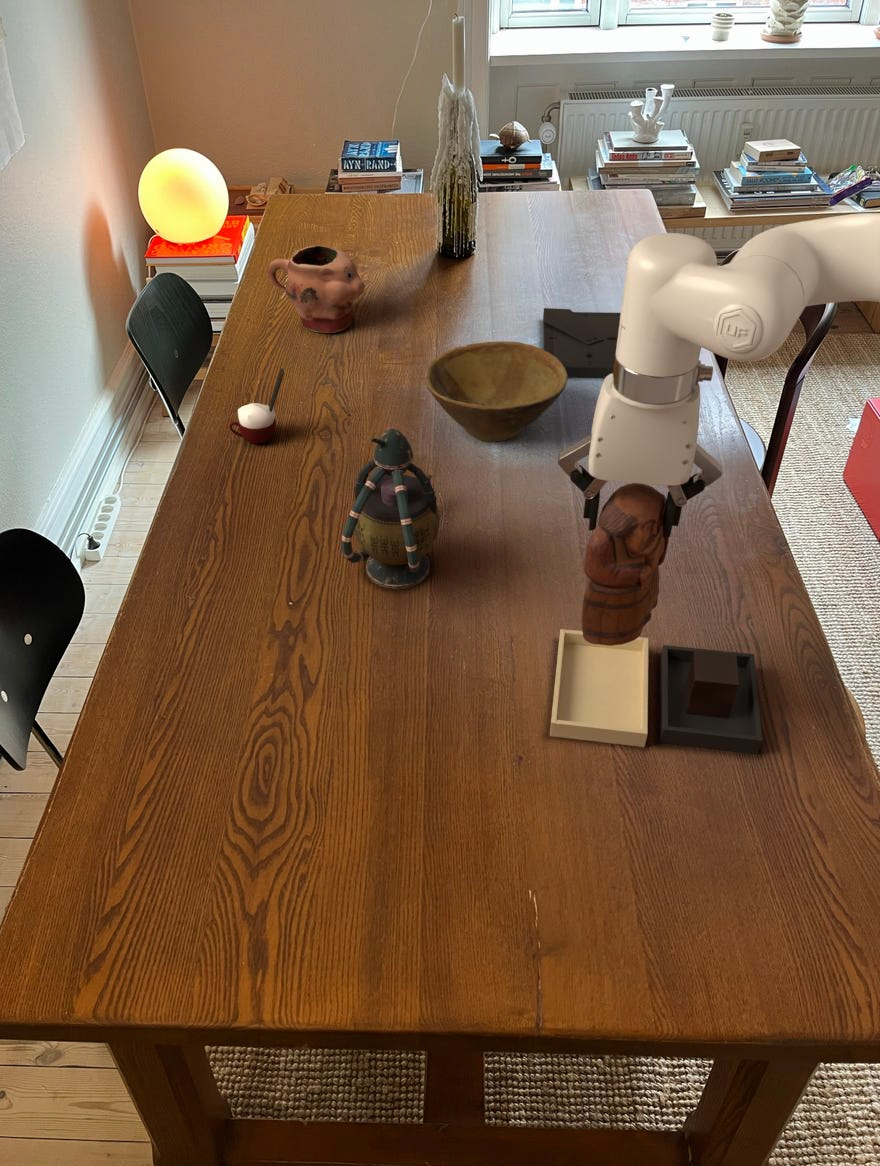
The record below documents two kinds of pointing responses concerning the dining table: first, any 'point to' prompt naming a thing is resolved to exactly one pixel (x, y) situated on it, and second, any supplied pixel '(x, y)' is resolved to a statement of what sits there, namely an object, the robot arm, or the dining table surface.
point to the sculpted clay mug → (320, 287)
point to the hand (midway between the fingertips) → (629, 524)
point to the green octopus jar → (392, 516)
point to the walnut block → (711, 684)
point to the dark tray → (704, 730)
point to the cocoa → (258, 418)
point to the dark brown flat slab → (582, 341)
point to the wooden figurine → (624, 565)
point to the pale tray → (601, 691)
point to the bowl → (496, 386)
